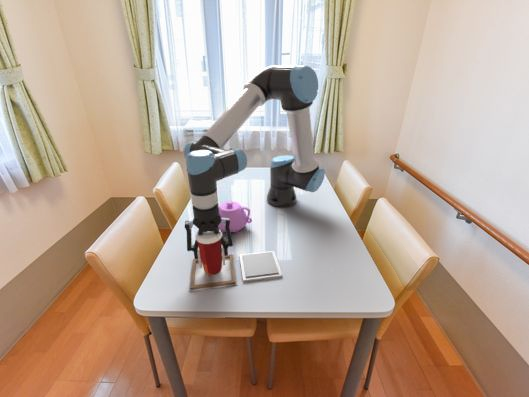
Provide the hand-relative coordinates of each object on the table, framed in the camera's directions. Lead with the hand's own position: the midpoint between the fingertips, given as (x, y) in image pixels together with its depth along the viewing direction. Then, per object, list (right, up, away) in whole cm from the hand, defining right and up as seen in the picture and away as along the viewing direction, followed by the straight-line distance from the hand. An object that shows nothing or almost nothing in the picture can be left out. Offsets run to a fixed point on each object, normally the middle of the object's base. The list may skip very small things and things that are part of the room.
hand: (212, 263), depth 88 cm
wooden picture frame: (0, -3, +2) cm, 3 cm away
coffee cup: (0, -2, +1) cm, 2 cm away
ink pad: (+16, -2, +4) cm, 16 cm away
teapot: (+2, +9, +26) cm, 28 cm away
